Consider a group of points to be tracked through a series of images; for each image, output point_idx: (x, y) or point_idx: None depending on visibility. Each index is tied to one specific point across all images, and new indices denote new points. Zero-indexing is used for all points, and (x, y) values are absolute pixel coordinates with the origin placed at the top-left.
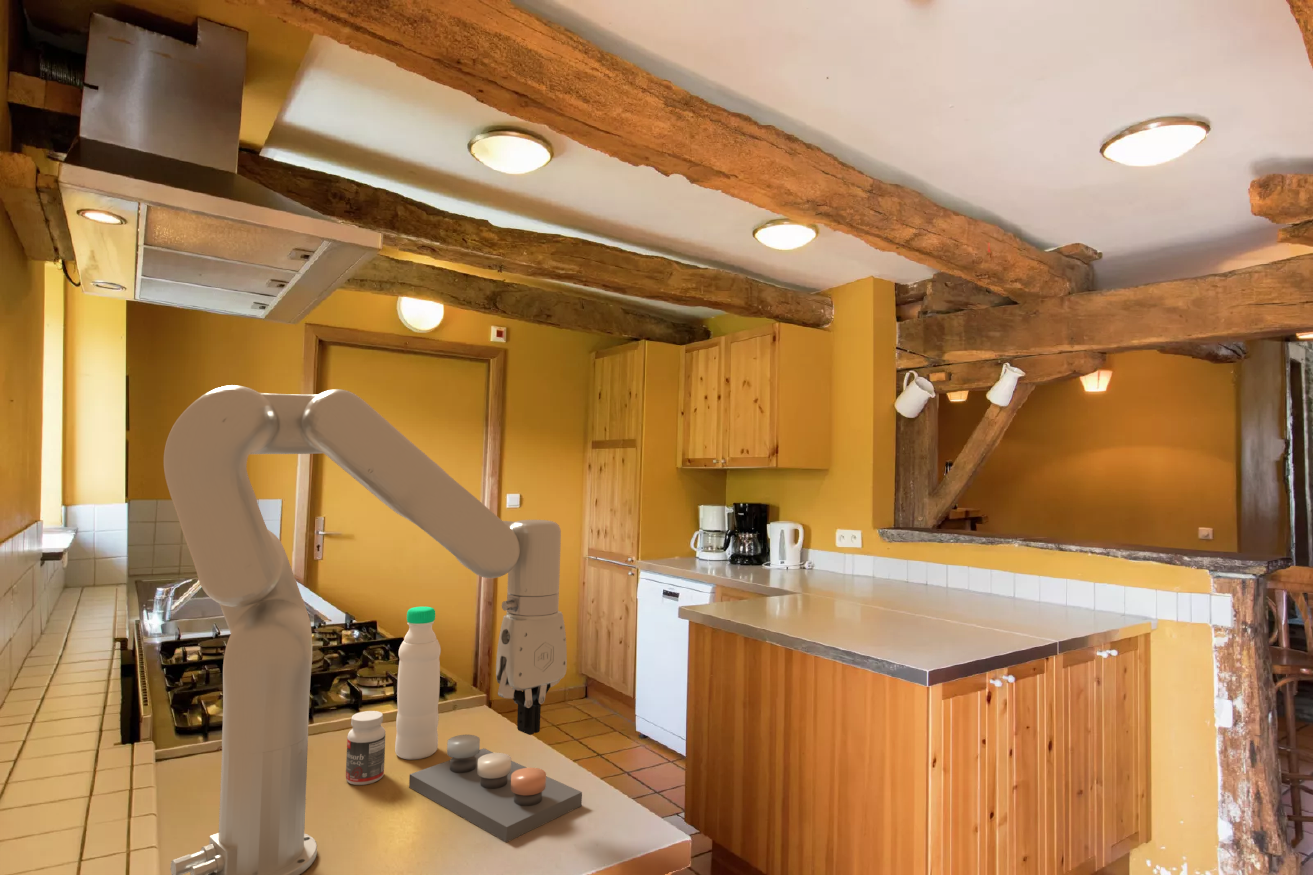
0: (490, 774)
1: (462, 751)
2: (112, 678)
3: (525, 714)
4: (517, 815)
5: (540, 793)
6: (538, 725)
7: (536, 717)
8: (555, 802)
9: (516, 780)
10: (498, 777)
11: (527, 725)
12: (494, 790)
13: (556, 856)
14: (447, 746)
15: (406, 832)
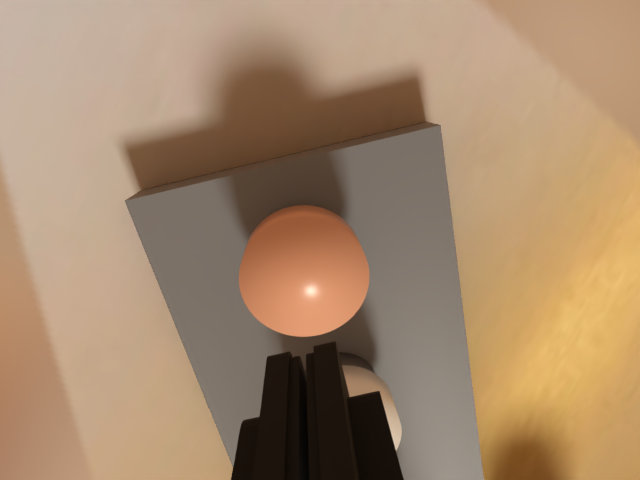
0: (376, 382)
1: None
2: None
3: (389, 465)
4: (377, 173)
5: None
6: (277, 379)
7: (292, 425)
8: (236, 183)
9: (364, 262)
10: (352, 366)
11: (351, 401)
12: (358, 345)
13: None
14: None
15: (584, 305)
